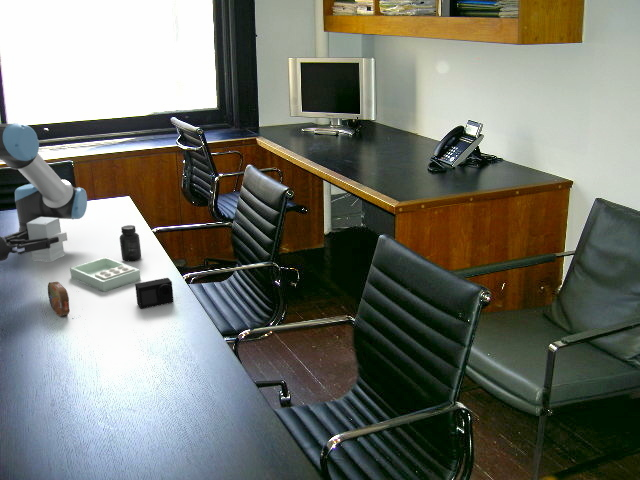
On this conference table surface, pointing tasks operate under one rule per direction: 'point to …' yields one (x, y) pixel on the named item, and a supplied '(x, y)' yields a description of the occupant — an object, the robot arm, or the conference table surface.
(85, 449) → the conference table surface
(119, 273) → the egg carton
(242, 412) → the conference table surface
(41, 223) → the supplement box
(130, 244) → the supplement bottle
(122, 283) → the pale green tray
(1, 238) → the robot arm
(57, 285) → the tin
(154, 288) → the digital camera
